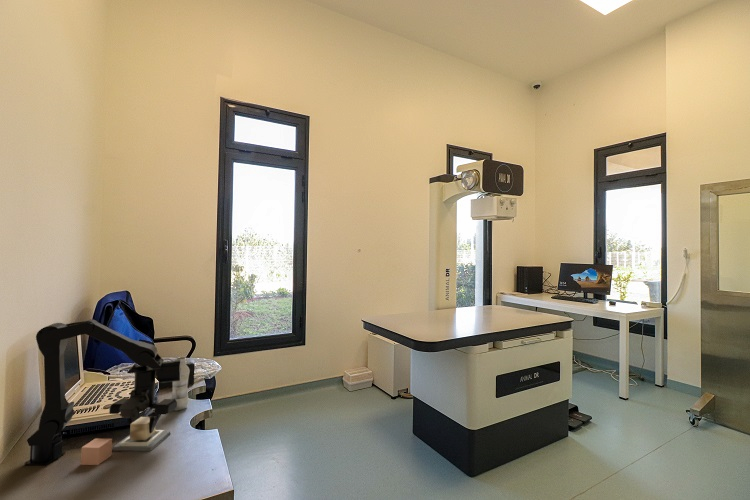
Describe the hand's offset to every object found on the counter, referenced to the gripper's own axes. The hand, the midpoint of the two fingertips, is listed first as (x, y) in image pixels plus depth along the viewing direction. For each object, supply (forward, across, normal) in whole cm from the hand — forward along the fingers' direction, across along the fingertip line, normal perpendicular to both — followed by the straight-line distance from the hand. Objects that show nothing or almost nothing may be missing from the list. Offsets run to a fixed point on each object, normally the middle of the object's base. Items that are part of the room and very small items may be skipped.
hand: (142, 432), depth 111 cm
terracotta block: (+3, -7, -10) cm, 13 cm away
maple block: (+1, 0, 0) cm, 1 cm away
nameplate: (+3, -20, +48) cm, 52 cm away
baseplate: (+3, 0, 0) cm, 3 cm away
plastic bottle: (+3, -2, +25) cm, 25 cm away
